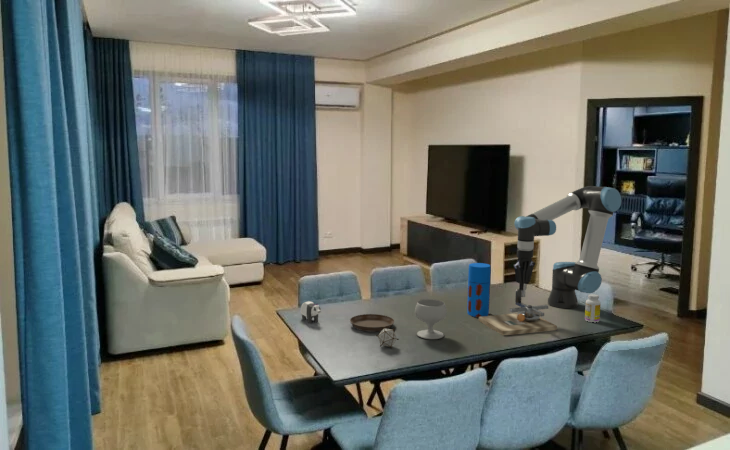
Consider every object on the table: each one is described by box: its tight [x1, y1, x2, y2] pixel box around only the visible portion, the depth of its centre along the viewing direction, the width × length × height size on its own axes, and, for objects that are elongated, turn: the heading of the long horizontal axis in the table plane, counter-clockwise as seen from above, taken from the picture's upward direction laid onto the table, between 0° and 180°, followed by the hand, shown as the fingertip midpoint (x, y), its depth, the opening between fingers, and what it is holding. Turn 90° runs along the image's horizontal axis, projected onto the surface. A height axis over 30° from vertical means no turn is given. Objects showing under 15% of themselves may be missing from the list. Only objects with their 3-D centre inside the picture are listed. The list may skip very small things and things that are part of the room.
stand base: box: [478, 312, 558, 336], centre depth 258 cm, size 28×22×2 cm
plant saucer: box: [349, 313, 395, 333], centre depth 255 cm, size 21×21×3 cm
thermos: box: [466, 262, 492, 318], centre depth 274 cm, size 11×11×25 cm
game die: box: [375, 327, 399, 350], centre depth 229 cm, size 9×8×10 cm
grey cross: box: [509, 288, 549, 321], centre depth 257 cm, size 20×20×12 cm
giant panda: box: [300, 301, 322, 324], centre depth 261 cm, size 15×6×10 cm, turn 33°
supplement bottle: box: [584, 293, 602, 323], centre depth 265 cm, size 7×7×13 cm
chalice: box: [414, 298, 448, 340], centre depth 242 cm, size 14×14×15 cm
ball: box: [517, 314, 525, 321], centre depth 256 cm, size 4×4×4 cm
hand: (522, 296), depth 267 cm, fingers closed
